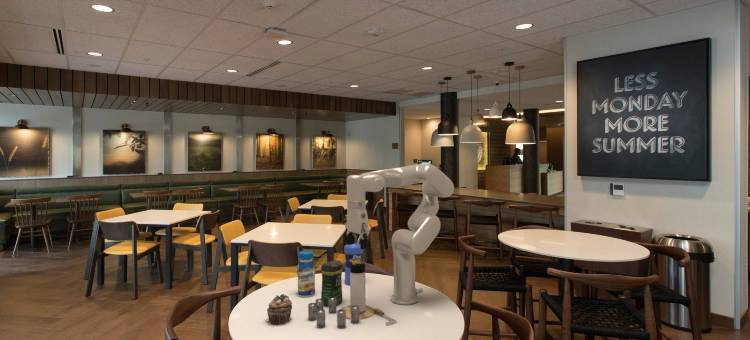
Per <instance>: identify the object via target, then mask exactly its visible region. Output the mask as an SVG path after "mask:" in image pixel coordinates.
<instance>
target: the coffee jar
mask: <svg viewBox="0 0 750 340" xmlns="http://www.w3.org/2000/svg"><path fill="white" fill-rule="evenodd" d="M320 272H321V280H322V281H321V293H320V296H321V297H320V299H323V307H324V306H325V307H329V297H336V306H337V305H340V304H341V303H342V302H343V285H342V284H343V283H342V281H343V280H342V279H343V278H342V275H343V263H342V260H338V259H337V260H336V259H333V260H330V261H328V262H325V263H323V264H321V268H320Z"/></svg>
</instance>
